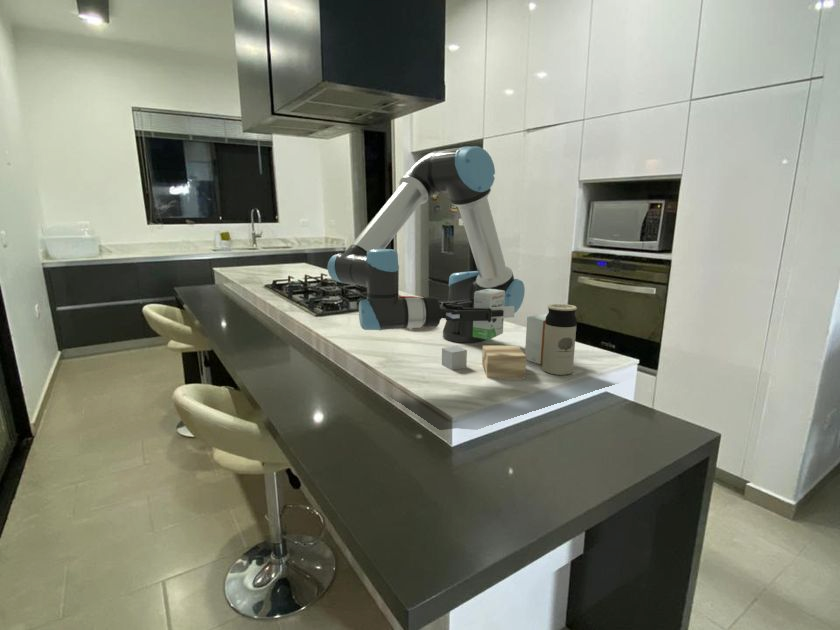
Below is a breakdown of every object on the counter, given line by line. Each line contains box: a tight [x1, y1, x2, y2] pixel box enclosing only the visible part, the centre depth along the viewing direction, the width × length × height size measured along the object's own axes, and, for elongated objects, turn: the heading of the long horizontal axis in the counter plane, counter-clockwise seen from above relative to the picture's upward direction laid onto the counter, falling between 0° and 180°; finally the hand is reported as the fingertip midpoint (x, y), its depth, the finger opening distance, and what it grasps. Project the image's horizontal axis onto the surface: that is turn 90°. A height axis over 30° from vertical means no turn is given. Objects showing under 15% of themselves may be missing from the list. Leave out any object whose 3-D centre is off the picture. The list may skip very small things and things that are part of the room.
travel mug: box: [541, 303, 578, 376], centre depth 120 cm, size 8×8×18 cm
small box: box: [524, 313, 548, 365], centre depth 131 cm, size 8×6×13 cm
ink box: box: [473, 289, 505, 341], centre depth 116 cm, size 9×5×12 cm, turn 144°
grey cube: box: [441, 345, 468, 371], centre depth 126 cm, size 5×5×5 cm
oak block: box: [481, 345, 527, 378], centre depth 121 cm, size 10×10×6 cm
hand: (505, 308), depth 117 cm, fingers closed on ink box, 9 cm apart
